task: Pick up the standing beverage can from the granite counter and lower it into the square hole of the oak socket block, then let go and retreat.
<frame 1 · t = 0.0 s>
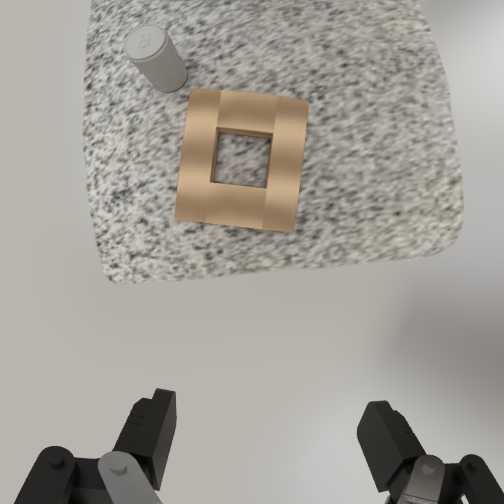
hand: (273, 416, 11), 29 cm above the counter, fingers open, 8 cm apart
socket: (242, 160, 37), on the counter
beverage can: (171, 78, 34), on the counter
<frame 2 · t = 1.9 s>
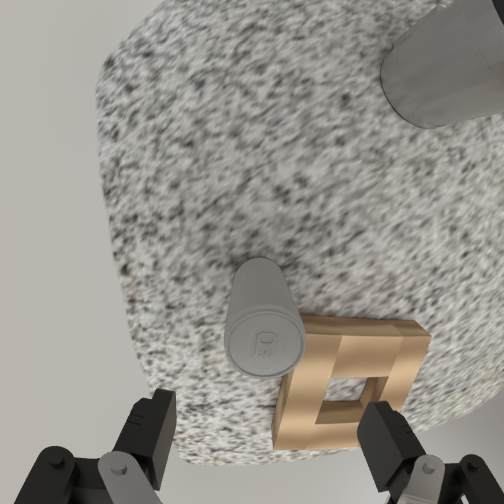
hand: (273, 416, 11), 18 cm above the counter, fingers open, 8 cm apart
socket: (342, 380, 30), on the counter
beverage can: (258, 280, 28), on the counter
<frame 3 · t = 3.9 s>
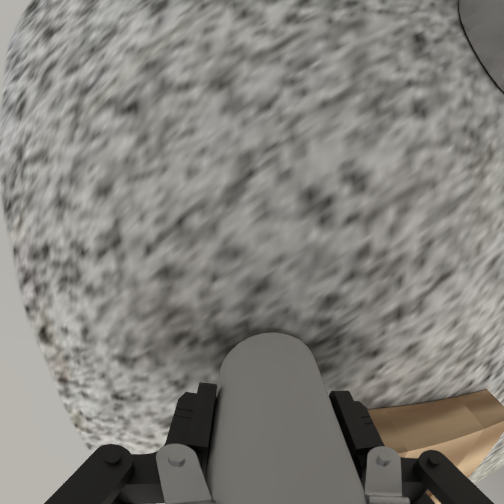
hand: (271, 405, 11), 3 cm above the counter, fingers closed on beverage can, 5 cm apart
socket: (382, 472, 17), on the counter
beverage can: (268, 366, 14), on the counter, touching gripper
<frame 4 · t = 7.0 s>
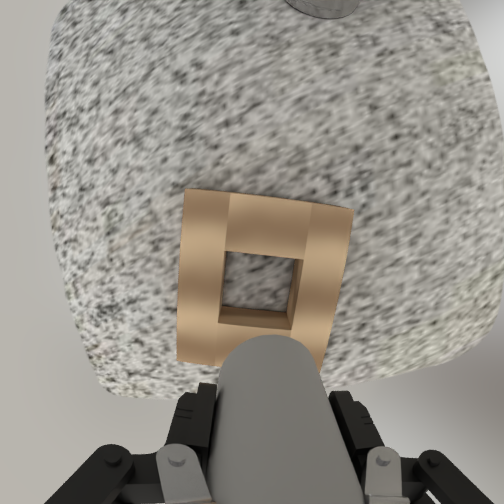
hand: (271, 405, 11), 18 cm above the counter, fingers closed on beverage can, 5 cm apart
socket: (258, 278, 29), on the counter
beverage can: (267, 367, 14), point 15 cm above the counter, touching gripper
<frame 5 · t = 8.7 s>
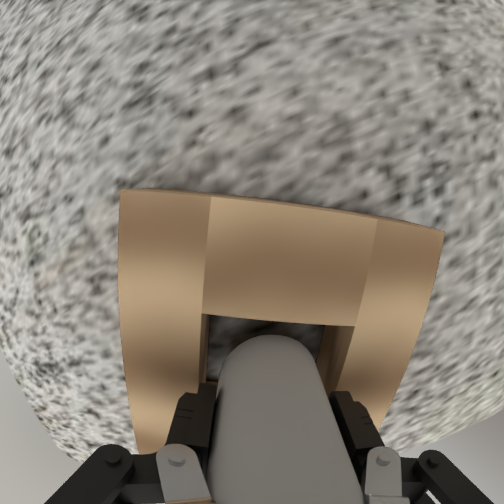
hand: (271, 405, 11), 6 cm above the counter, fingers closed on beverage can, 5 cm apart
socket: (265, 342, 17), on the counter
beverage can: (267, 367, 14), point 2 cm above the counter, touching gripper
when the fingers open (5 cm above the counter, at t = 9.9 s): beverage can drops 2 cm, resting in socket.
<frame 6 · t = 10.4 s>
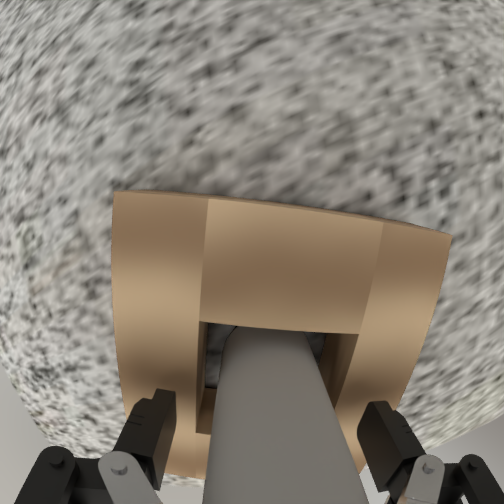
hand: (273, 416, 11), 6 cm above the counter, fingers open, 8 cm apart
socket: (265, 348, 16), on the counter
beverage can: (266, 347, 16), resting in socket
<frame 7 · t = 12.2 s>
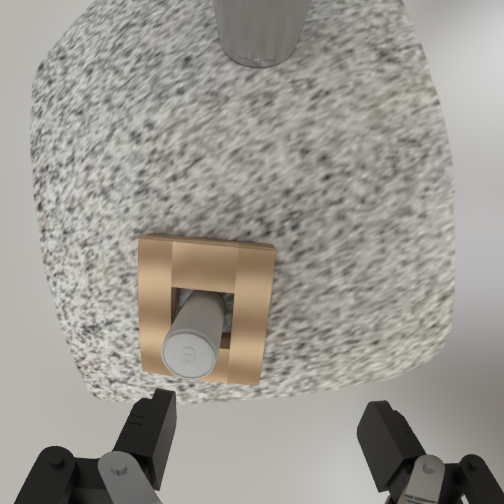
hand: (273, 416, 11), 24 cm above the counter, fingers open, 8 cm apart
socket: (205, 305, 34), on the counter
beverage can: (206, 305, 35), resting in socket
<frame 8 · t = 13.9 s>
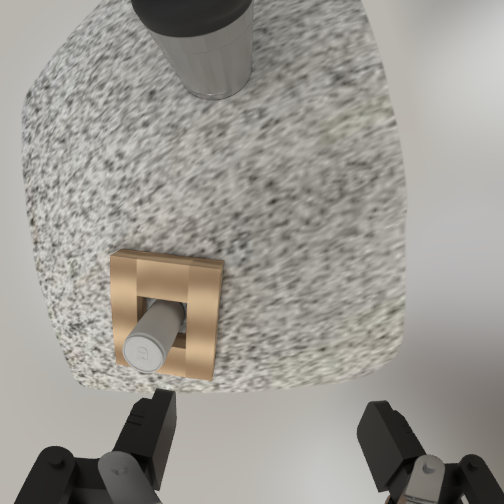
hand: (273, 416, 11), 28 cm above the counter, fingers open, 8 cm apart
socket: (168, 310, 39), on the counter
beverage can: (169, 310, 40), resting in socket
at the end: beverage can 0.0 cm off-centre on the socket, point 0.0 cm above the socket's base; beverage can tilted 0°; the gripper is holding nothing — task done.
